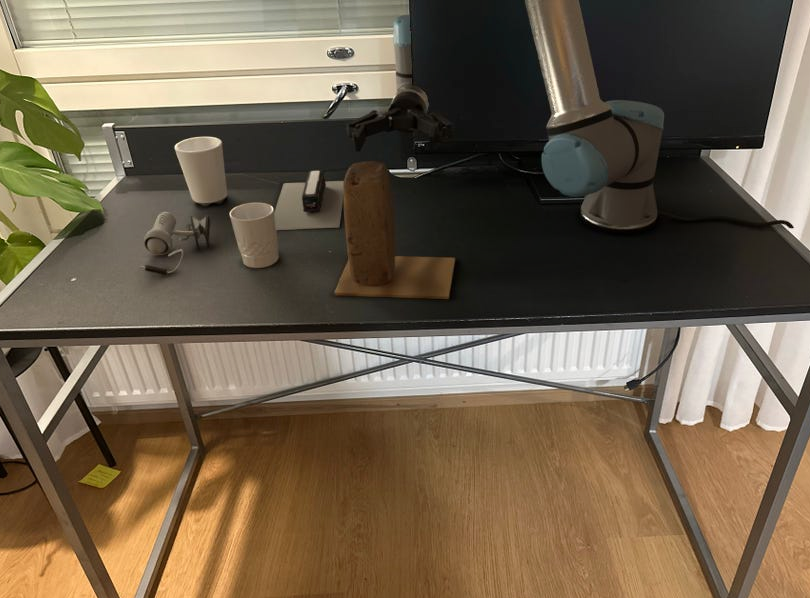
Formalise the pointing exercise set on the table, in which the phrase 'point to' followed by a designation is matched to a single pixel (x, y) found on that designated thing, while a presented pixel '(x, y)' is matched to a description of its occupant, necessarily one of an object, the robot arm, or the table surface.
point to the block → (369, 223)
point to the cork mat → (406, 280)
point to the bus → (310, 203)
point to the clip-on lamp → (161, 238)
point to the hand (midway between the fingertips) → (394, 144)
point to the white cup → (255, 234)
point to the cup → (203, 169)
